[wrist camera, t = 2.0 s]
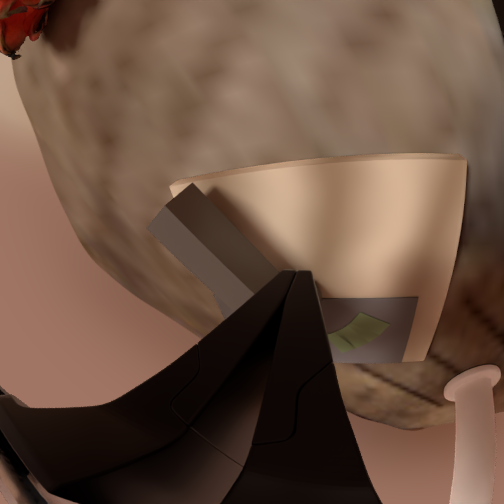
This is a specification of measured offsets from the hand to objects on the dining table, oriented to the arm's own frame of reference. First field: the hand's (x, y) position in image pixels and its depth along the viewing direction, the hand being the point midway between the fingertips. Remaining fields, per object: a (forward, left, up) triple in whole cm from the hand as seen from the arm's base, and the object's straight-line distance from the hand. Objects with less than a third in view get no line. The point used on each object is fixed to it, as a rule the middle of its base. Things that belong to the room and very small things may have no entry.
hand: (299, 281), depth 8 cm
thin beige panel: (+1, +7, -8) cm, 10 cm away
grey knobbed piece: (+6, +5, -6) cm, 10 cm away
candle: (-15, +22, -8) cm, 28 cm away
